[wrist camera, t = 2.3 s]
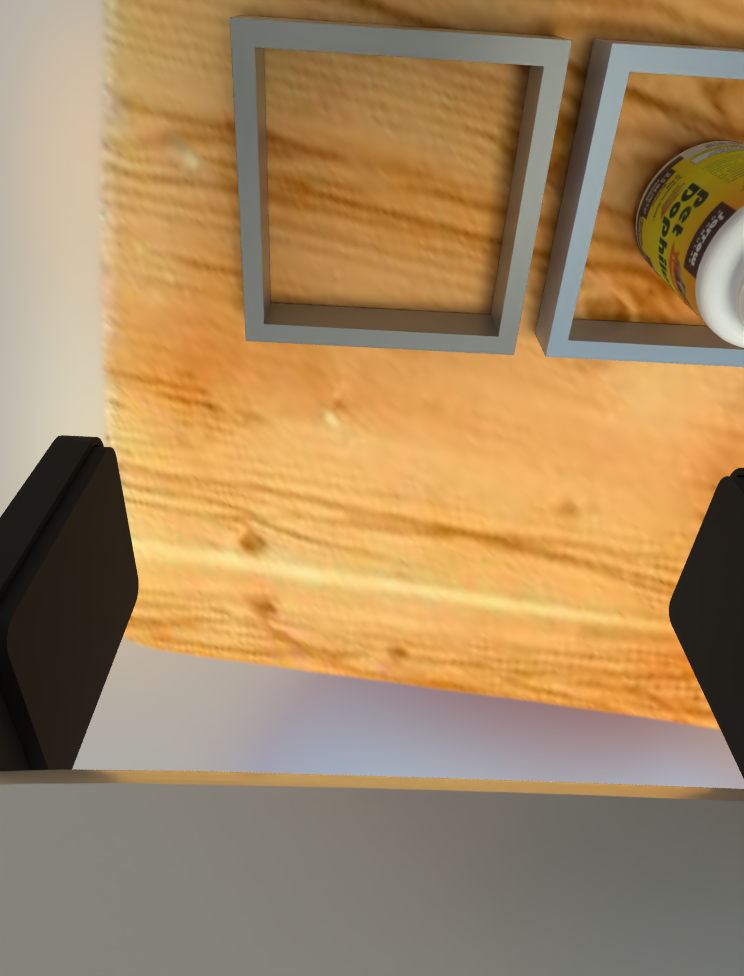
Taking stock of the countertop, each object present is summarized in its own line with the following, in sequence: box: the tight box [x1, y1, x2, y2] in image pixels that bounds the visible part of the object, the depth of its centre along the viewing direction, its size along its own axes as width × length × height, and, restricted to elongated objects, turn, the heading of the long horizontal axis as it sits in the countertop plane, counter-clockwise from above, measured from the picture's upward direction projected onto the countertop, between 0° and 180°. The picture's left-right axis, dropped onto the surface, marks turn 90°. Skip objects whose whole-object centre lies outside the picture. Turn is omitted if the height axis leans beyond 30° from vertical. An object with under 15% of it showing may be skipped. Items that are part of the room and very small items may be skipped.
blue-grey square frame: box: [535, 39, 744, 367], centre depth 29 cm, size 12×12×2 cm
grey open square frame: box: [230, 15, 572, 355], centre depth 28 cm, size 12×12×2 cm
